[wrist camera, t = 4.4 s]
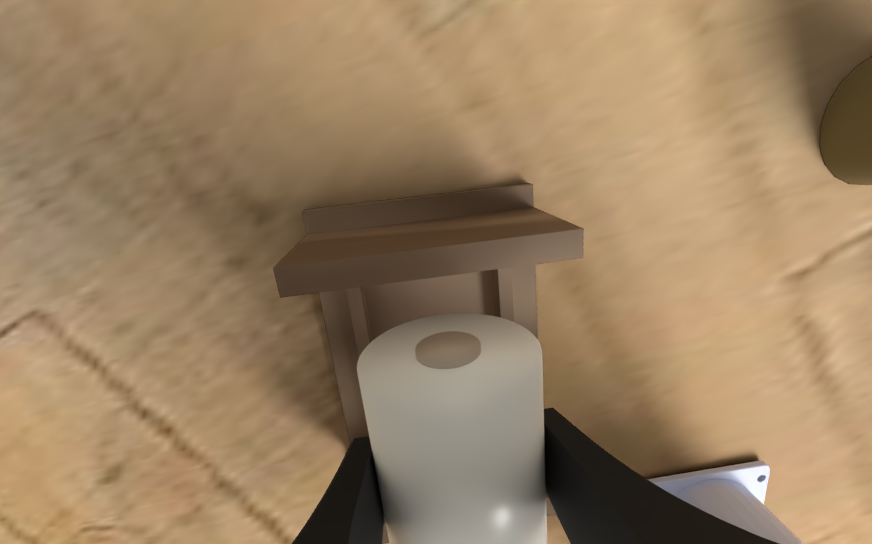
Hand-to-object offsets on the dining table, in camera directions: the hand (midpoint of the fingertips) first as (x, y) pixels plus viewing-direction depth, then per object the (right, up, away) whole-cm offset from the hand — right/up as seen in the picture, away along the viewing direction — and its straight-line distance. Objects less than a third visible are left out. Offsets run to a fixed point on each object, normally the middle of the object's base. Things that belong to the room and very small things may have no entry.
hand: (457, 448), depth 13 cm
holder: (-1, +2, +7) cm, 8 cm away
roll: (0, +1, +2) cm, 2 cm away
